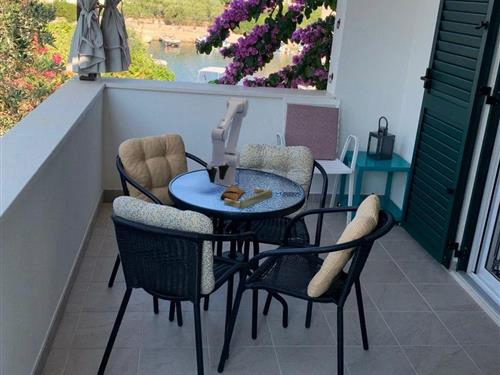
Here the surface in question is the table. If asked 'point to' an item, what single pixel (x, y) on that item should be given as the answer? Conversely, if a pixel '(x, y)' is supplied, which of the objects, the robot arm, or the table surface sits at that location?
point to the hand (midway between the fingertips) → (217, 180)
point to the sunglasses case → (232, 193)
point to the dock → (250, 199)
